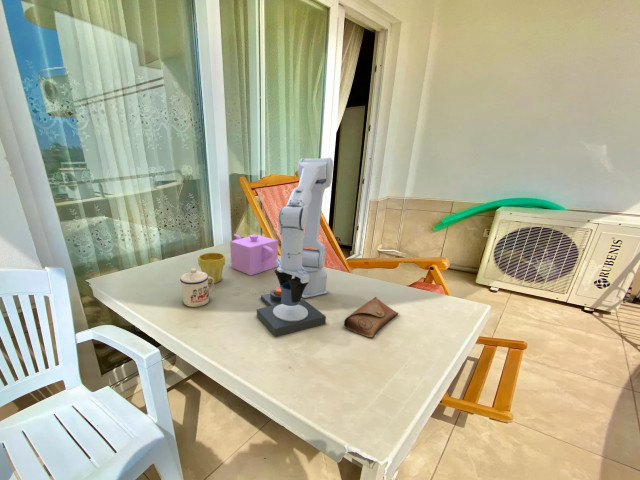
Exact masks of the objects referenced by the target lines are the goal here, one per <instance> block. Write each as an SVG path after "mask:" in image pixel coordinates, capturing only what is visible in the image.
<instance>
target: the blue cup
mask: <svg viewBox="0 0 640 480" xmlns="http://www.w3.org/2000/svg"><path fill="white" fill-rule="evenodd" d="M281 303H282V304H284V305H287V306H296V305H298V304H299V303H300V302H296V303H293V302H292V297H291V288H290V285H289V283H288V282H285V283H283V284H282V285H281Z"/></svg>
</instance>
